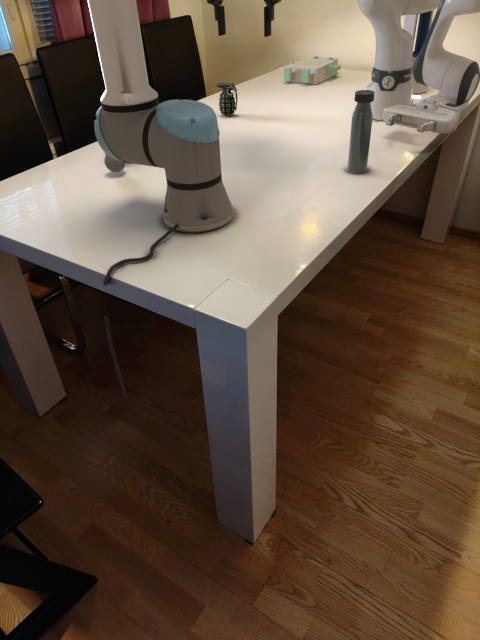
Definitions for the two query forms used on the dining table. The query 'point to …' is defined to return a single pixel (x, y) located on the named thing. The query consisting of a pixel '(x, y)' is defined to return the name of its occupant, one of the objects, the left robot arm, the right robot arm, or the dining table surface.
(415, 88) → the electronic device
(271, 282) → the dining table surface
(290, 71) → the decorative block
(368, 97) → the cap
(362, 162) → the bottle
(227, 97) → the grenade
